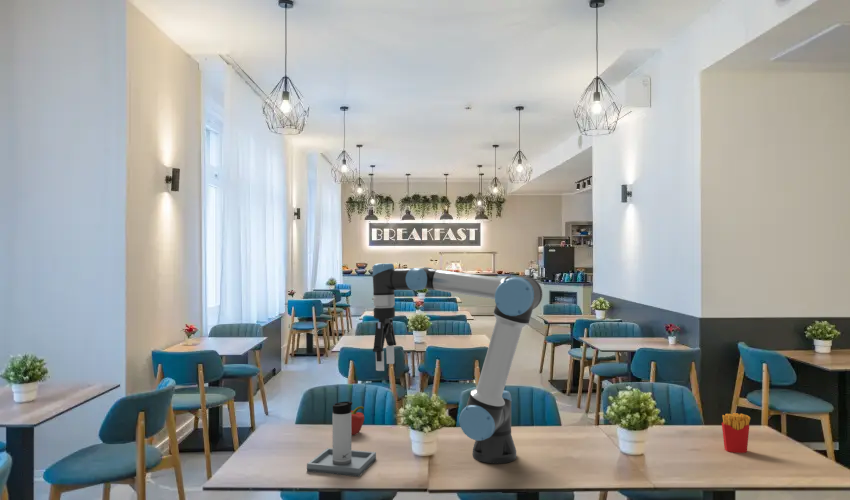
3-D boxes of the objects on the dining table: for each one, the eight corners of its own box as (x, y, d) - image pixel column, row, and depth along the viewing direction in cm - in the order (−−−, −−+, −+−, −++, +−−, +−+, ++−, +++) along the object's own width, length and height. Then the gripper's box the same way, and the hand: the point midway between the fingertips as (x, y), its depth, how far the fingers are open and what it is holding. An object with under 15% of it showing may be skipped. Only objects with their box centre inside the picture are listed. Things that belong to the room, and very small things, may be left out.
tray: (375, 459, 197) (376, 452, 197) (359, 476, 182) (359, 468, 182) (327, 455, 202) (327, 447, 202) (306, 471, 186) (306, 463, 186)
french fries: (725, 452, 203) (725, 415, 204) (720, 448, 208) (720, 412, 208) (752, 453, 203) (752, 416, 203) (746, 449, 207) (746, 412, 207)
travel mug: (348, 466, 188) (348, 404, 188) (329, 464, 189) (329, 403, 190) (354, 459, 194) (354, 400, 194) (336, 458, 195) (336, 399, 196)
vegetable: (356, 427, 234) (356, 403, 235) (371, 433, 227) (371, 408, 227) (333, 432, 228) (333, 407, 228) (347, 439, 220) (347, 412, 220)
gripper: (383, 304, 217) (384, 360, 216) (363, 309, 192) (364, 373, 192) (402, 304, 215) (404, 361, 215) (384, 309, 191) (386, 373, 190)
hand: (385, 367), depth 203 cm, fingers open, 13 cm apart
